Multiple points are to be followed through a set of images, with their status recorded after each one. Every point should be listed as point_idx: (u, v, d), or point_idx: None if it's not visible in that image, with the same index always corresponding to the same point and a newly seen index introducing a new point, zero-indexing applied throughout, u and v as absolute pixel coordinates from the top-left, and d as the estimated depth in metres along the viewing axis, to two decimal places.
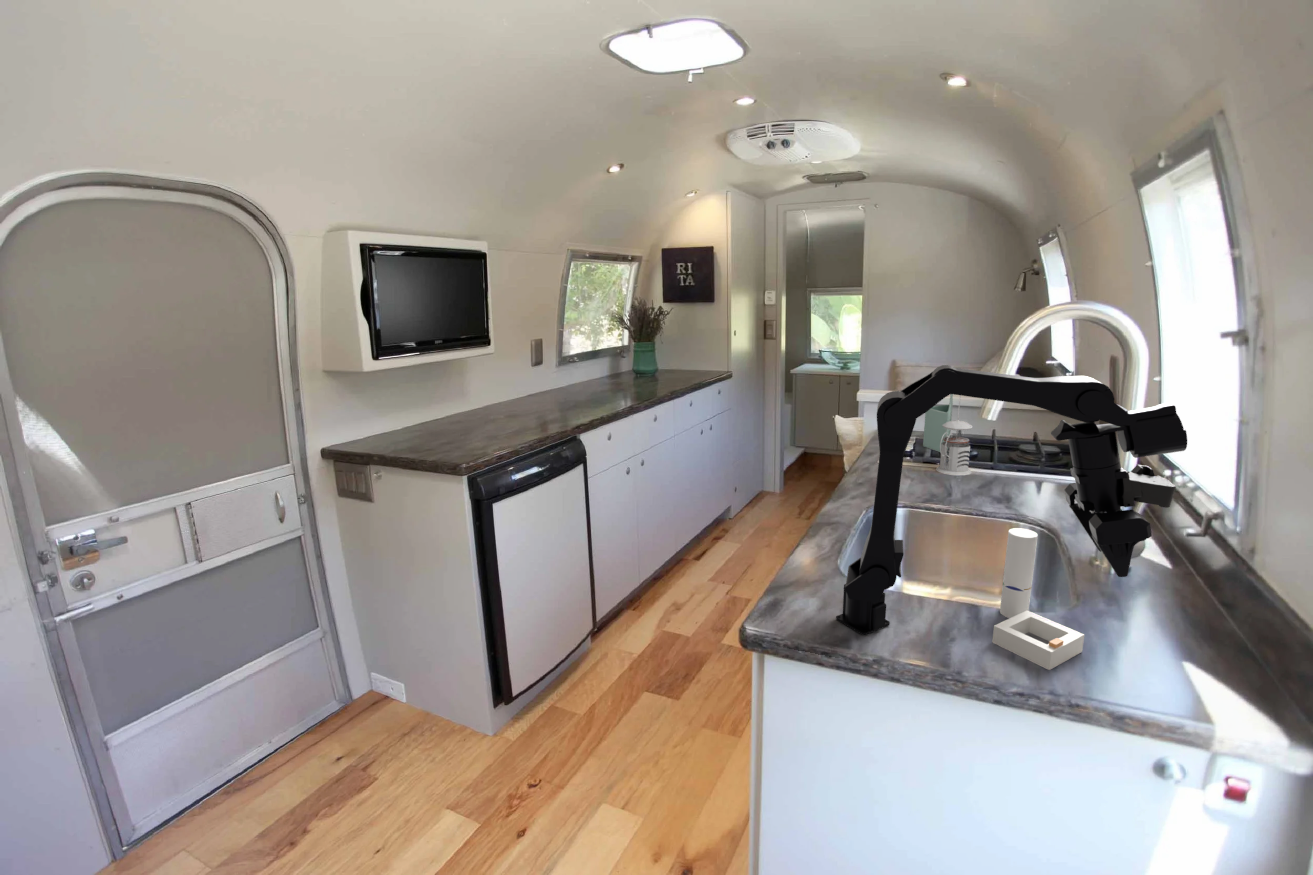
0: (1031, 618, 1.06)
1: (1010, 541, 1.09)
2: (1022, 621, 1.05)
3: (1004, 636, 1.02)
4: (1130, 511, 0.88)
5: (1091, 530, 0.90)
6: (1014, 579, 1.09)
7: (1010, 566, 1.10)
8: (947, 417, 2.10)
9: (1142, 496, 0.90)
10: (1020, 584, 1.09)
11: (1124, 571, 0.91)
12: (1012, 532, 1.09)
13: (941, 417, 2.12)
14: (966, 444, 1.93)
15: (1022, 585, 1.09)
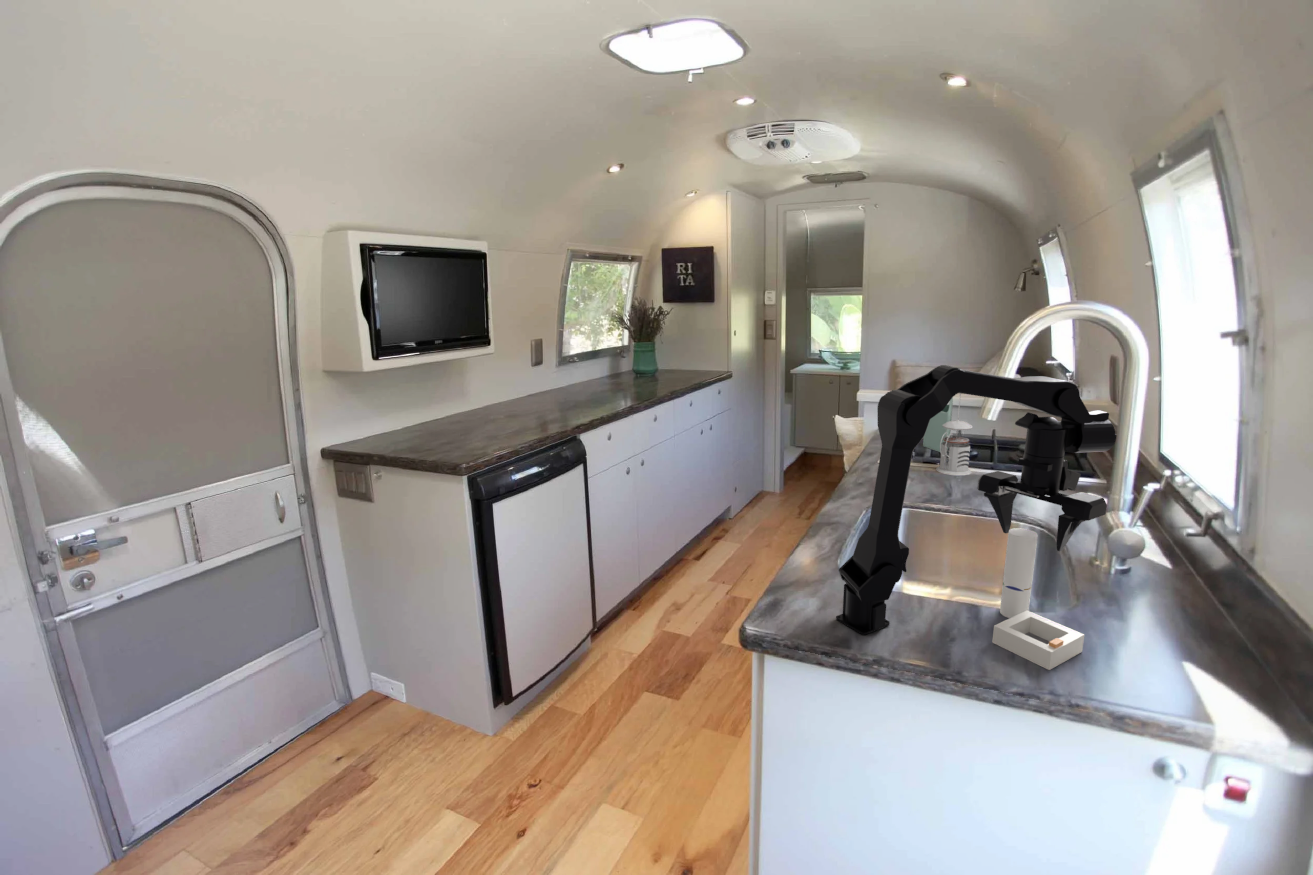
0: (1031, 618, 1.06)
1: (1010, 541, 1.09)
2: (1022, 621, 1.05)
3: (1004, 636, 1.02)
4: (1083, 493, 1.05)
5: (1065, 511, 1.03)
6: (1014, 579, 1.09)
7: (1010, 566, 1.10)
8: (947, 417, 2.10)
9: (1069, 482, 1.09)
10: (1020, 584, 1.09)
11: (1062, 546, 1.07)
12: (1012, 532, 1.09)
13: (941, 417, 2.12)
14: (966, 444, 1.93)
15: (1022, 585, 1.09)
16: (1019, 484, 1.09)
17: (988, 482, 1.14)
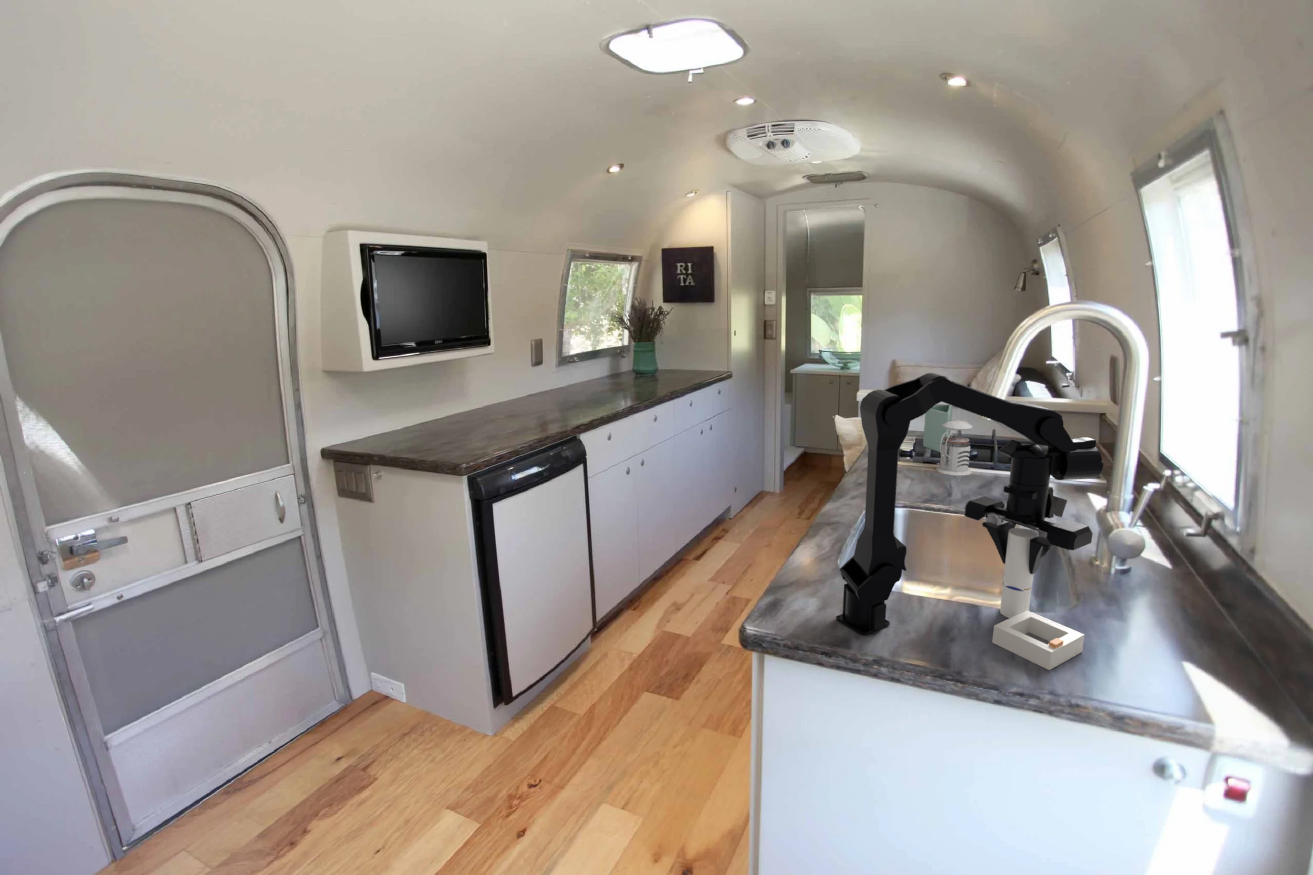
0: (1031, 618, 1.06)
1: (1010, 541, 1.09)
2: (1022, 621, 1.05)
3: (1004, 636, 1.02)
4: (1069, 521, 1.04)
5: (1050, 540, 1.02)
6: (1014, 579, 1.09)
7: (1010, 566, 1.10)
8: (947, 417, 2.10)
9: (1055, 508, 1.08)
10: (1020, 584, 1.09)
11: (1035, 569, 1.08)
12: (1012, 532, 1.09)
13: (941, 417, 2.12)
14: (966, 444, 1.93)
15: (1022, 585, 1.09)
16: (1005, 511, 1.08)
17: (974, 508, 1.13)
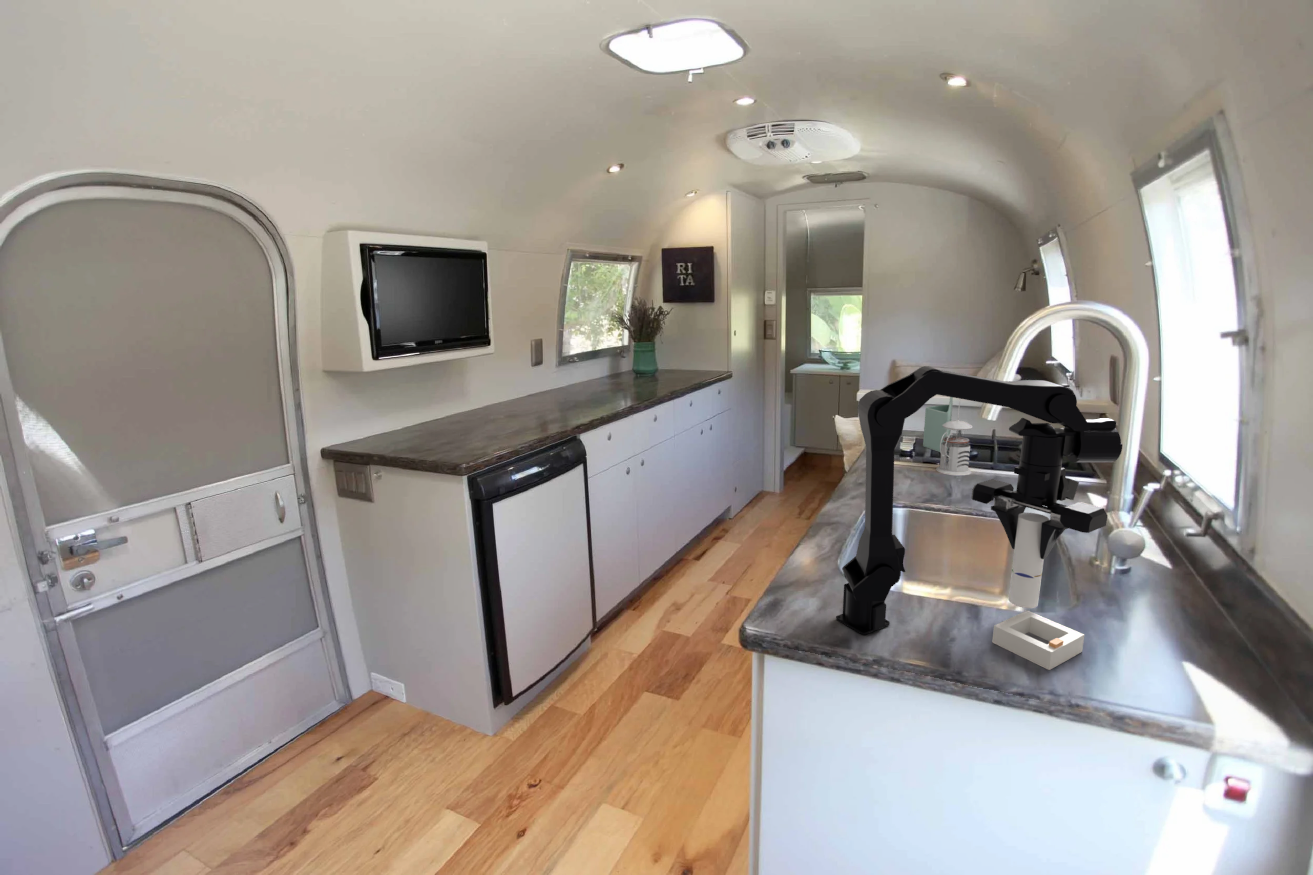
0: (1031, 618, 1.06)
1: (1020, 526, 1.05)
2: (1022, 621, 1.05)
3: (1004, 636, 1.02)
4: (1083, 503, 0.99)
5: (1064, 522, 0.98)
6: (1024, 565, 1.05)
7: (1020, 552, 1.05)
8: (947, 417, 2.10)
9: (1067, 490, 1.04)
10: (1030, 571, 1.05)
11: (1046, 554, 1.04)
12: (1022, 516, 1.05)
13: (941, 417, 2.12)
14: (966, 444, 1.93)
15: (1033, 572, 1.05)
16: (1015, 494, 1.04)
17: (982, 491, 1.08)
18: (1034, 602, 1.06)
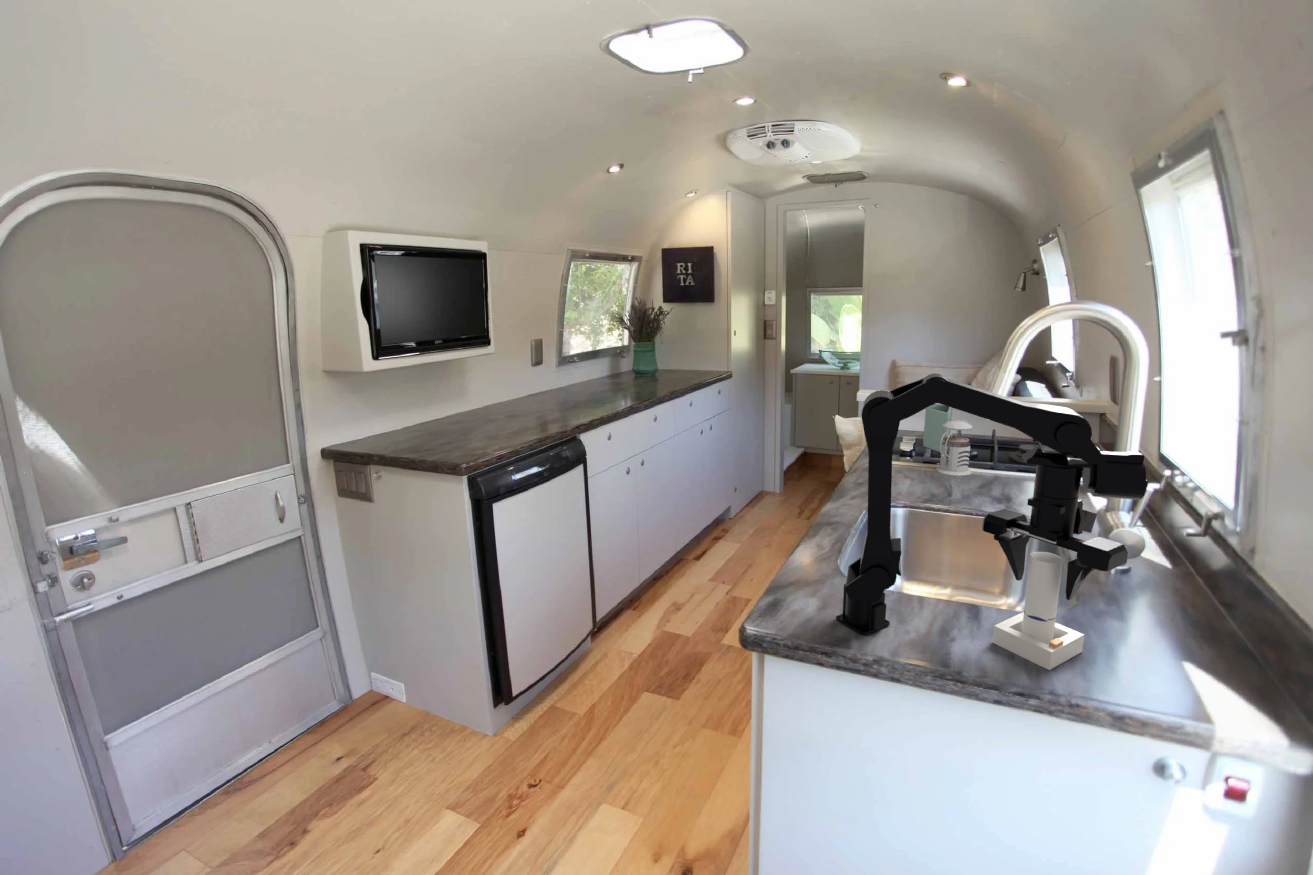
0: None
1: (1033, 567, 0.99)
2: (1022, 621, 1.05)
3: (1004, 636, 1.02)
4: (1101, 538, 0.93)
5: (1081, 559, 0.92)
6: (1037, 608, 0.99)
7: (1033, 594, 1.00)
8: (947, 417, 2.10)
9: (1084, 523, 0.98)
10: (1043, 614, 0.99)
11: (1072, 594, 0.97)
12: (1034, 556, 0.99)
13: (941, 417, 2.12)
14: (966, 444, 1.93)
15: (1046, 615, 0.99)
16: (1028, 527, 0.98)
17: (994, 523, 1.02)
18: None
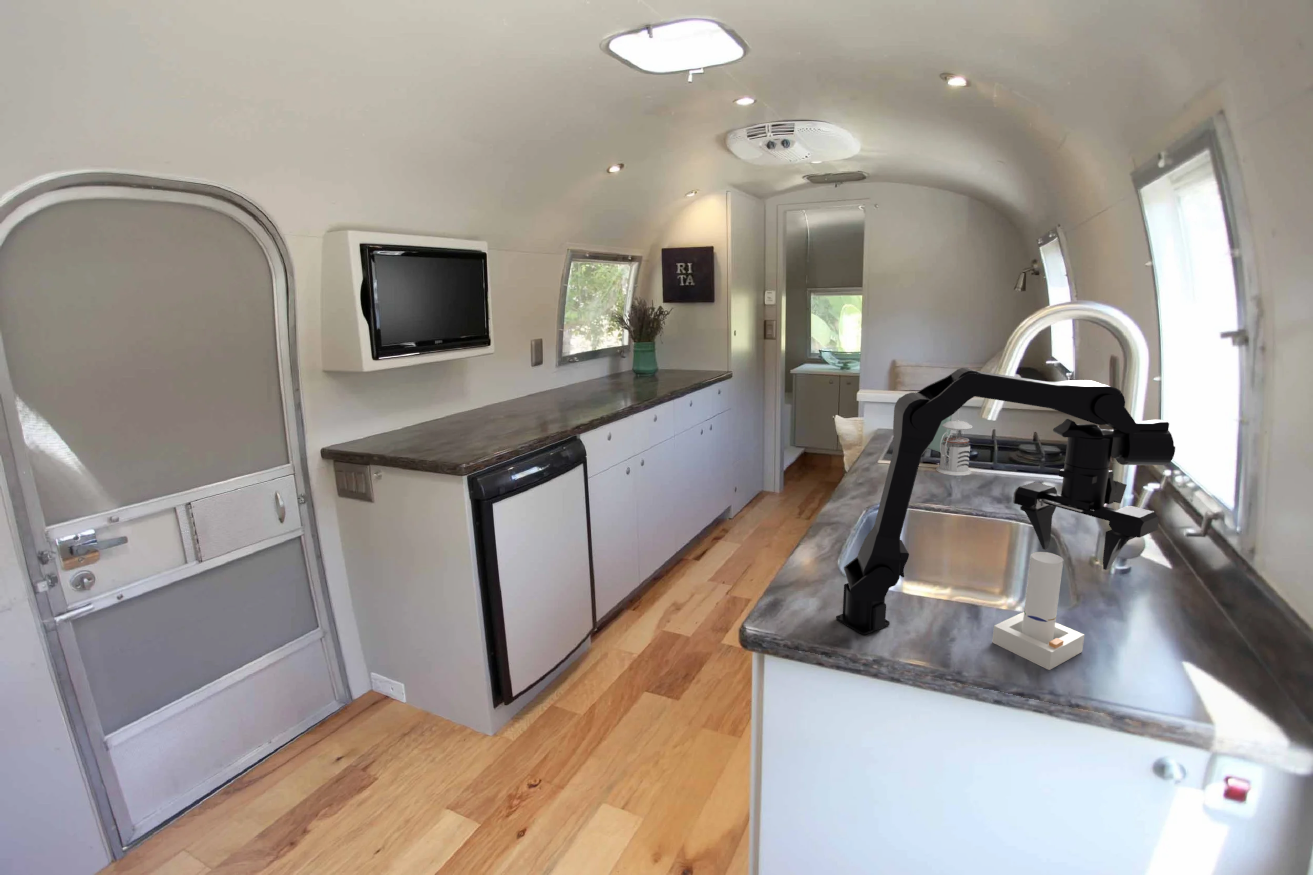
0: None
1: (1033, 567, 0.99)
2: (1022, 621, 1.05)
3: (1004, 636, 1.02)
4: (1132, 507, 0.96)
5: (1113, 527, 0.94)
6: (1037, 608, 0.99)
7: (1033, 594, 0.99)
8: None
9: (1114, 494, 1.00)
10: (1043, 614, 0.99)
11: (1109, 564, 0.99)
12: (1035, 557, 0.99)
13: None
14: (966, 444, 1.93)
15: (1046, 615, 0.99)
16: (1060, 497, 1.01)
17: (1025, 495, 1.05)
18: None
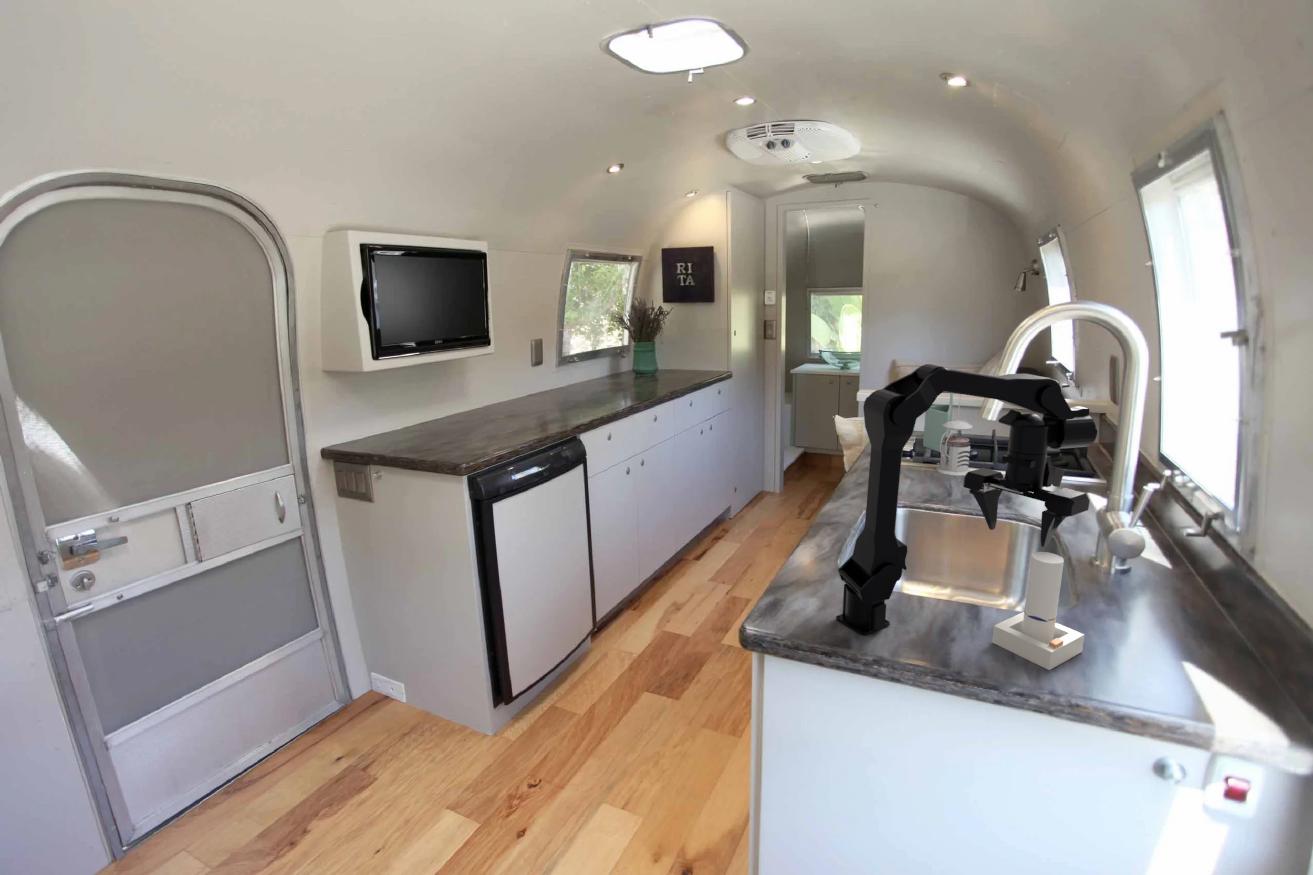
0: None
1: (1033, 567, 0.99)
2: (1022, 621, 1.05)
3: (1004, 636, 1.02)
4: (1067, 489, 1.05)
5: (1048, 507, 1.04)
6: (1037, 608, 0.99)
7: (1033, 594, 0.99)
8: (947, 417, 2.10)
9: (1053, 478, 1.10)
10: (1044, 614, 0.99)
11: (1046, 542, 1.08)
12: (1035, 557, 0.99)
13: (941, 417, 2.12)
14: (966, 444, 1.93)
15: (1046, 615, 0.99)
16: (1003, 481, 1.10)
17: (973, 479, 1.14)
18: None
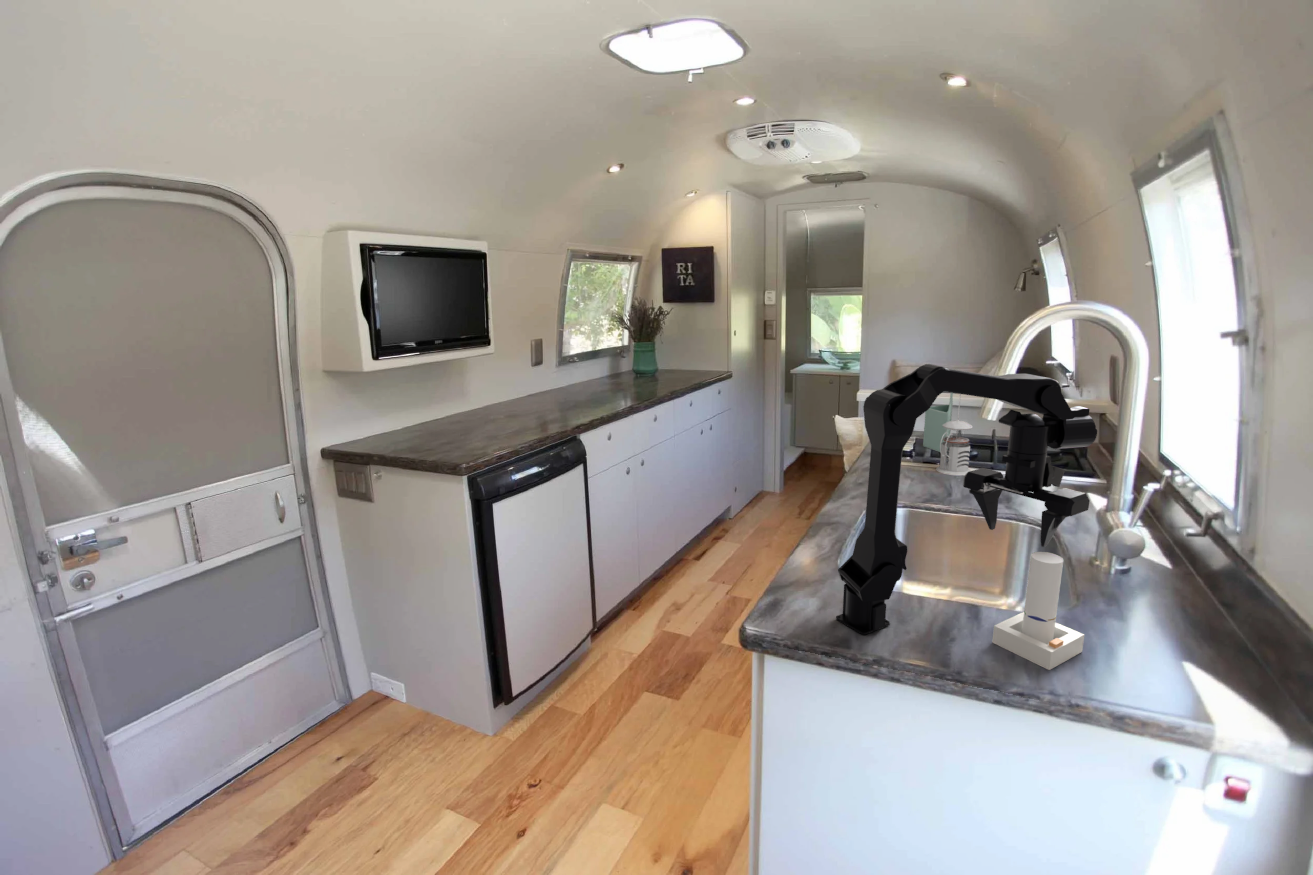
0: None
1: (1033, 567, 0.99)
2: (1022, 621, 1.05)
3: (1004, 636, 1.02)
4: (1066, 489, 1.05)
5: (1048, 507, 1.04)
6: (1037, 608, 0.99)
7: (1033, 594, 0.99)
8: (947, 417, 2.10)
9: (1053, 478, 1.10)
10: (1043, 614, 0.99)
11: (1046, 542, 1.08)
12: (1035, 557, 0.99)
13: (941, 417, 2.12)
14: (966, 444, 1.93)
15: (1046, 615, 0.99)
16: (1003, 481, 1.10)
17: (973, 479, 1.14)
18: None
